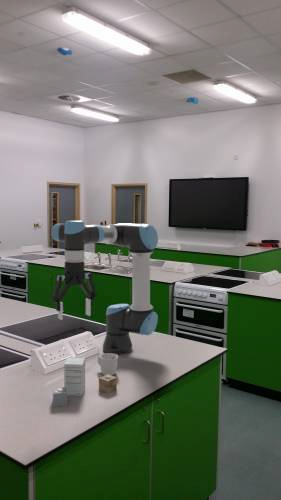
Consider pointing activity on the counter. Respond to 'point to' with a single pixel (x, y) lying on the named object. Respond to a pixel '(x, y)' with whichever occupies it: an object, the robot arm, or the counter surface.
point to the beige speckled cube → (107, 383)
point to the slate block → (59, 396)
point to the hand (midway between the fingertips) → (74, 317)
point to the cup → (108, 363)
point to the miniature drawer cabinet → (74, 376)
